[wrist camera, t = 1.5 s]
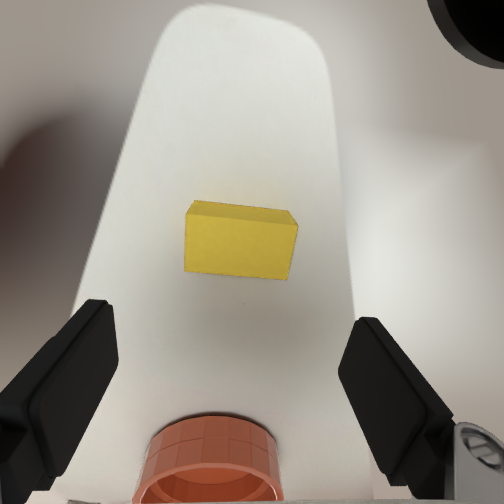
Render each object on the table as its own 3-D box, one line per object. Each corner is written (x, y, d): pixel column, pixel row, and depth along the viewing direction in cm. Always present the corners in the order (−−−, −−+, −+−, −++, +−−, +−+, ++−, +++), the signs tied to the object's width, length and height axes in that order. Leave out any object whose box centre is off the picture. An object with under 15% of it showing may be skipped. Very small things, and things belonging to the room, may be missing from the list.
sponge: (194, 199, 19) (185, 213, 15) (288, 210, 19) (298, 225, 16) (192, 250, 20) (184, 271, 17) (279, 258, 21) (287, 280, 18)
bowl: (287, 412, 29) (296, 463, 25) (266, 485, 36) (270, 537, 31) (145, 408, 28) (127, 462, 23) (150, 485, 34) (136, 540, 29)
